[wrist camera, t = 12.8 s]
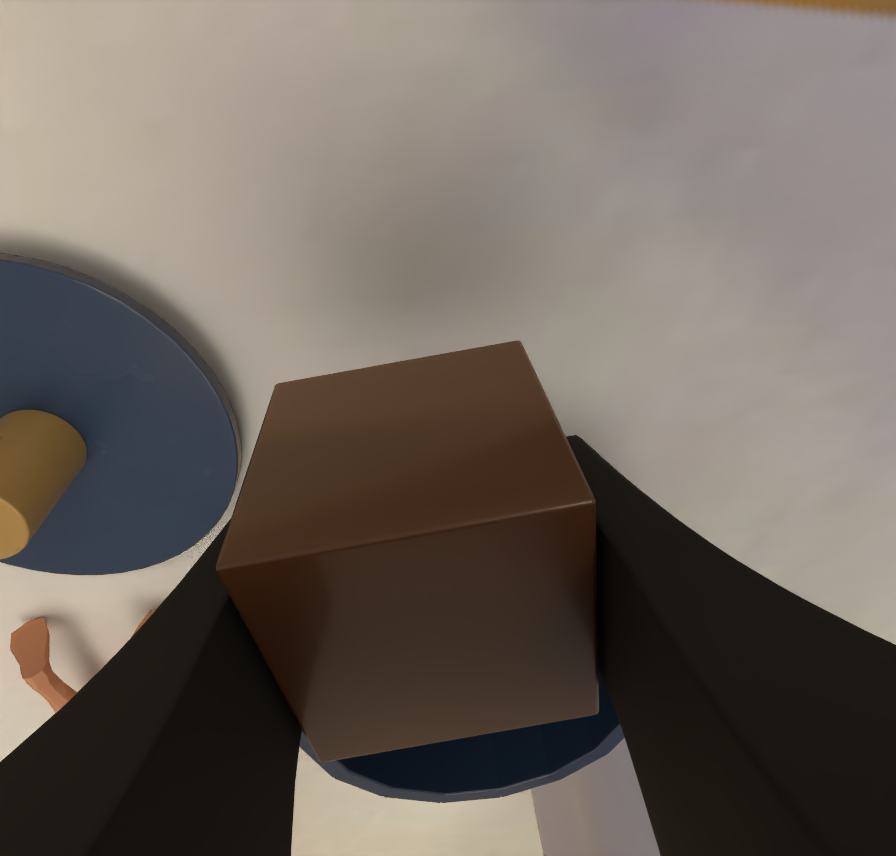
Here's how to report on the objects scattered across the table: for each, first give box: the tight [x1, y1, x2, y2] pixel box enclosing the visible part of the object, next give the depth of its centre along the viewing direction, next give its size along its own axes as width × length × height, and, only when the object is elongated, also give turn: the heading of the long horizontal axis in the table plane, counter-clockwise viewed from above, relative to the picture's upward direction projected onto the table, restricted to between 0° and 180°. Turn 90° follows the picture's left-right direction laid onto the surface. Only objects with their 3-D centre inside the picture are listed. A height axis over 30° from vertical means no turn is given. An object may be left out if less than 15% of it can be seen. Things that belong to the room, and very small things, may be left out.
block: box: [216, 341, 599, 762], centre depth 10 cm, size 4×4×4 cm
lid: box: [0, 253, 241, 575], centre depth 16 cm, size 11×11×4 cm
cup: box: [300, 669, 625, 803], centre depth 19 cm, size 10×10×7 cm
